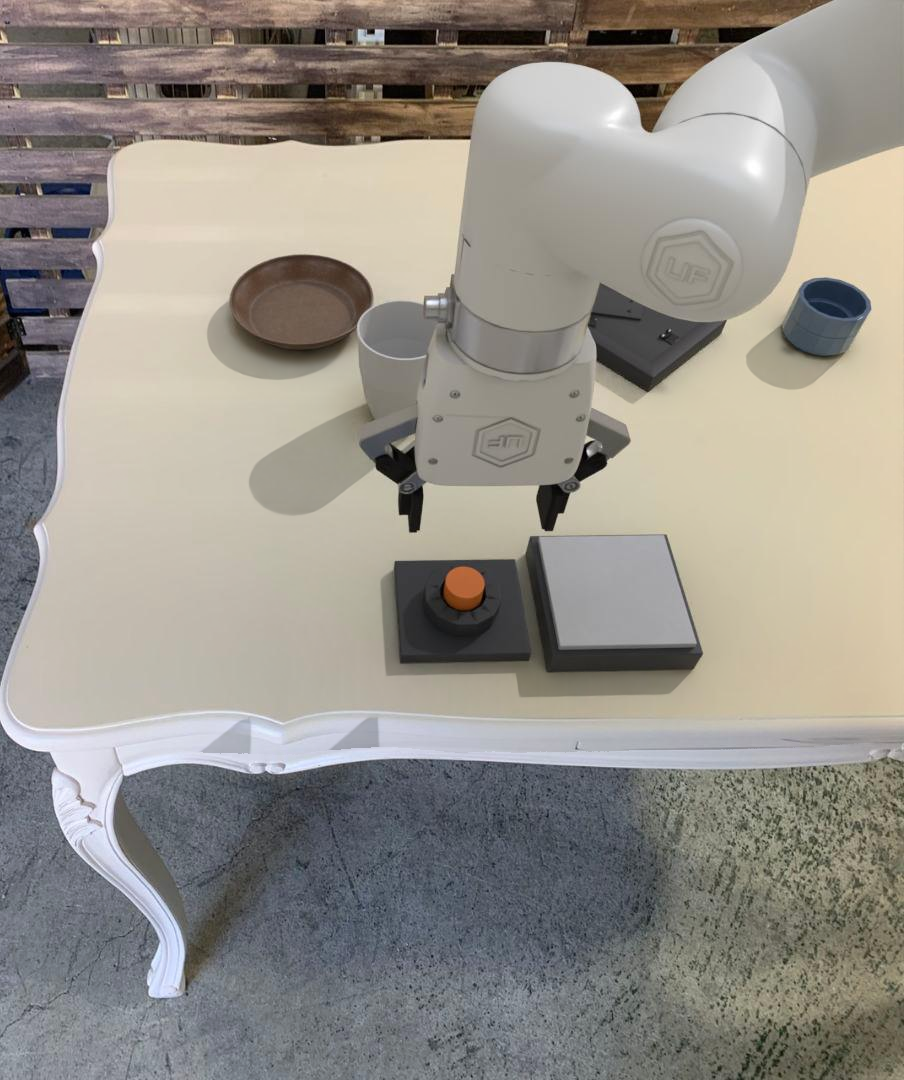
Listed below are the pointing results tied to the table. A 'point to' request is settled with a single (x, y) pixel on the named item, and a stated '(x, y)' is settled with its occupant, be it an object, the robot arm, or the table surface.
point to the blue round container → (825, 316)
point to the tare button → (463, 588)
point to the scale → (610, 604)
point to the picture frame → (644, 338)
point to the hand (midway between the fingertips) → (478, 515)
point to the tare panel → (459, 614)
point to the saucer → (301, 300)
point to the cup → (392, 354)
